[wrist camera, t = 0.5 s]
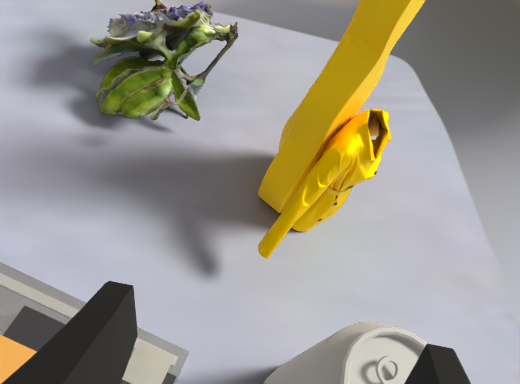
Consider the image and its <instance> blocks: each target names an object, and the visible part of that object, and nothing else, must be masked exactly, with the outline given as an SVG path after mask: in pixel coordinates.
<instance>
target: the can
mask: <svg viewBox="0 0 520 384" xmlns="http://www.w3.org/2000/svg"><path fill="white" fill-rule="evenodd" d="M426 344H428V343H427V342H425V341H424V340H422V339H421V338H420V337H418V336H417V335H415V334H414V333H413V332H410V331H407V330H405V329H402V328H399V327H396V326H389V325H386V324H383V323H380V322H358V323H356V324H353V325H351V326H348V327H346V328H343V329H341V330H340V331H338V332H336V333H335V334H333V335H331V336H330V337H328V338H326V339H325V340H323V341H321V342H320V343H318V344H316V345H315V346H313V347H311V348H310V349H308V350H306V351H305V352H303V353H301V354H300V355H298V356H296V357H295V358H293V359H291V360H290V361H288V362H286V363H285V364H283V365H281V366H280V367H278V368H277V369H276V370H275V371H274V372H273V373H272V374H271V375H270V376H269V377H267V378H266V380H265V382H264V384H404V383H405V381H406V379H407V378H408V376H409V374H410V372H411V371H412V369H413V367H414V365H415V364H416V362H417V360H418V358H419V357H420V355H421V353H422V351H423V349H424V348H425V346H426Z"/></svg>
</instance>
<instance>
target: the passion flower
mask: <svg viewBox="0 0 520 384" xmlns="http://www.w3.org/2000/svg"><path fill="white" fill-rule="evenodd" d="M155 2H156V5H155V6H154V7H153V9H152V10H151V11H150V12H149V11H148V13H146V12H145V13H144V12H142V11H141V12H140V13H130V14H127V15H121V14H118V15H121V19H118V18H114V19H113V18H111V19H110V22H109V23H110V24H109V25H110V26H107V27H108V28H109V30H107V31H108V32H109V33H110V34H111V36H110V37H107V36H106V37H105V39H103V40H97V39H93V38H91V39H90V41H91V42H92V43H94V44H96V45H97V46H99V47H104V48H105V51H102V52H100V53H99V54H98V55H97V56H96V57H95V58H94V60H93V66H96V65H97V64H98V63H100V62H102V61H103V60H105V59H108V60H109V59H110V58H113V57H114V56H120V55H122V54H123V53H128V52H134V51H138V52H139V54H140V55H141V57H143V58H139V57H131V56H129V57H128V58H124V59H121V60H119V61H118V62H117V64H116V65H114V66H113V68H112V69H111V70H110V71H109V72H108V73H107V74H106V76H105V78H104V80H103V82H102V83H101V87H100V91H99V92H98V93H97V94H96V99H97V103H98V105H99V106H100V111H101V112H102V113H104V114H109V115H117V114H119V115H123V116H124V117H126V118H137V117H142V116H145V115H148V114H150V113H151V112H153V111H154V110H155V112H154V113H153V114H152V115H151V116H150V118H151V119H152V120H156V119H157V118H158V117H159V114H160V113H161V112H162V111H163V110H164V109H165V108H167V107H168V106H170V105H174V104H175V105H177V104H178V105H179V108H180V109H181V110H182V111H183V112H184V113H186V118H185V119H187V118H188V116H189V117H191V118H193V119H195V120H197V121H199V120H200V114H199V111H198V108H197V105H196V103H195V101H196V98H197V95H198V93H199V90H200V89H201V87H202V86H203V84H204V82H205V79H206V77H207V75H208V73H209V72H210V71H211V70H212V68H213V67H214V66H215V65H216V63H217V62H218V60H219V59H220V58H221V57H222V55H223V54H224V53H225V52H226V51H227V50H228V49H229V48H230V47H231V46H232V45H233V43H234V41H235V40H236V39H237V37H238V33H237V24H238V23H237V22H236V23H235V25H234V26H233V27H232V25H231V24H228V25H226V26H225V27H224V26H222V25H221V24H219V23H218V24H213V23H211V22H210V19H211V17H212V16H213V13H212V12H211V11H210V8H211V5H210V4H208V3H206V4H204V5H202V4H203V1H202V2H201V3H199V4H197V5H192V6H187V5H185V6H183V5H181V6H180V7H179V8H176V7H171V8H170V9H168V8H166V7H165V6H164V5H163V4H162V2H161V0H155ZM231 28H232V29H231ZM212 40H219V41H224V40H225V41H227V44H226V46H225V47H224V48H223V49H222V50H221V52H220V53H219V54H218V55H217V57H216V58H215V59H214V60H213V61H212V63H211V64H210V65H209V66H208V68H207V69H206V70H205V71H204V72H203V73H201V74H199V75H196V76H189V75H188V74H187V73H186V72H185V70H184V69H183V68H182V67H181V63H182V62H183V61H184V60H185V59H186V58H188V57H189V56H190V54H191V53H192V52H193V51H194V50H195V49H196V48H198V47H200V46H203V45H205V44H207V43H211V42H212ZM173 50H176V51H173ZM157 54H159V55H161V56H163V57H164V58H165V60H164V61H160V60H156V61H148V60H147V59H145V58H151V57H153V56H155V55H157ZM180 78H183V79H185V80H187V81H186V83H187V84H185V83H184V82H183V81H182V80H181V79H180ZM172 94H174V95H175V101H176V103H172V102H171V101H170V99H169V97H170V96H171V95H172Z"/></svg>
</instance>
